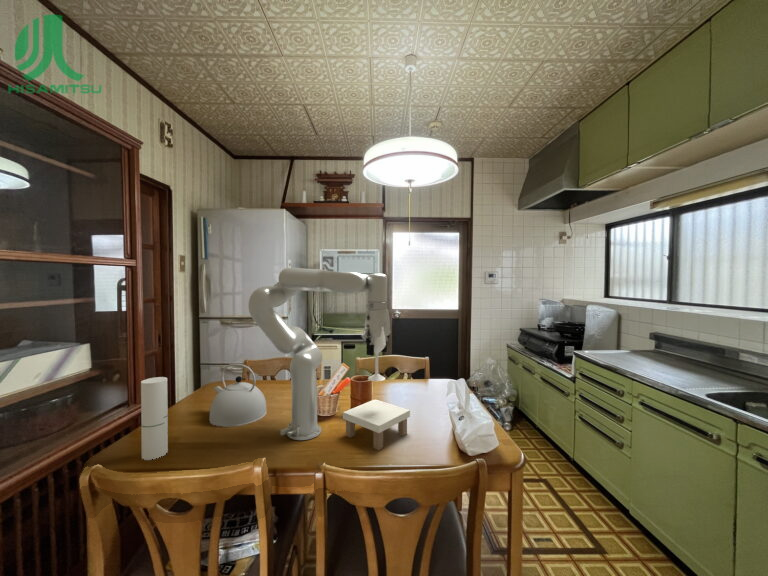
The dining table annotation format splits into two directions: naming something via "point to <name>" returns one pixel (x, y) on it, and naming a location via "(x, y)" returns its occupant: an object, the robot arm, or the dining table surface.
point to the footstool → (376, 419)
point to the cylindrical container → (154, 417)
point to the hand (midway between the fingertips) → (376, 353)
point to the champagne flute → (378, 347)
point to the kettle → (237, 403)
